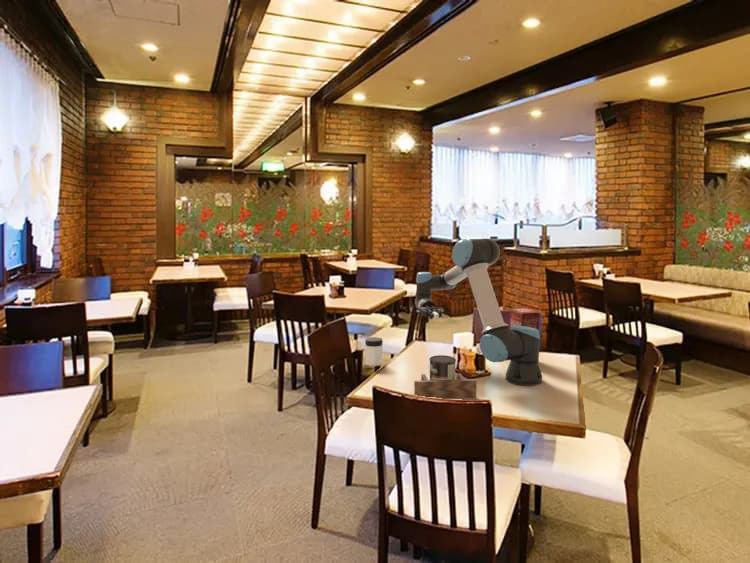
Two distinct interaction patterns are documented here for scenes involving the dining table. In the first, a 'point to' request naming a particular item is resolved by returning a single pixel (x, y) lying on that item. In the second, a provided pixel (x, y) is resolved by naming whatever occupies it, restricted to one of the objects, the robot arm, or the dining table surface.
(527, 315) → the food packaging
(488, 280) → the robot arm
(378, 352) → the jar
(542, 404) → the dining table surface
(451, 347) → the dining table surface
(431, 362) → the coffee can
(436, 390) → the walnut dock
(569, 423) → the dining table surface
